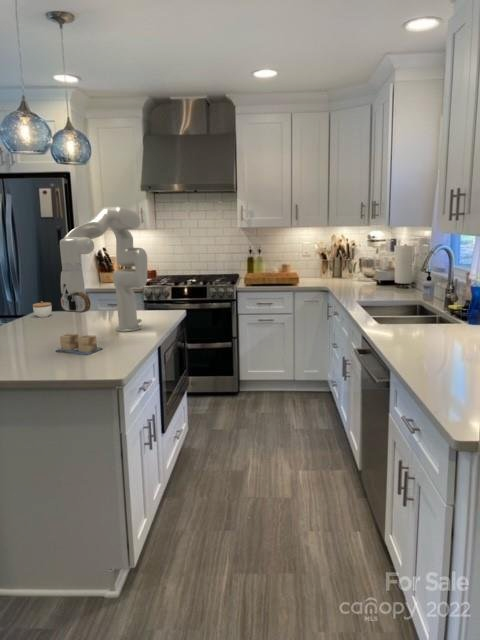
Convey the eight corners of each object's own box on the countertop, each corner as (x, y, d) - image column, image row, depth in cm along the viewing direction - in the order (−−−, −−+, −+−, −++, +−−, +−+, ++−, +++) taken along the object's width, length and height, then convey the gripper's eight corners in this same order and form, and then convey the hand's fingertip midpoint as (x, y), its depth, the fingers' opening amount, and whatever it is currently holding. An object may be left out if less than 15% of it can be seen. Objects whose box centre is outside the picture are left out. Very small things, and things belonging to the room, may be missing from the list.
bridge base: (71, 346, 230) (70, 332, 228) (102, 349, 222) (101, 334, 221) (55, 351, 221) (54, 337, 219) (87, 355, 214) (86, 340, 212)
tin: (91, 312, 216) (90, 293, 215) (86, 313, 213) (85, 294, 212) (64, 310, 222) (63, 292, 221) (59, 311, 219) (58, 292, 218)
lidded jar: (34, 315, 306) (33, 300, 304) (53, 314, 309) (51, 299, 307) (33, 318, 296) (31, 303, 294) (52, 317, 299) (50, 302, 297)
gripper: (77, 265, 223) (81, 305, 226) (50, 269, 208) (55, 312, 212) (90, 265, 220) (94, 306, 224) (64, 269, 205) (69, 313, 209)
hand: (75, 308), depth 218 cm, fingers closed on tin, 2 cm apart
